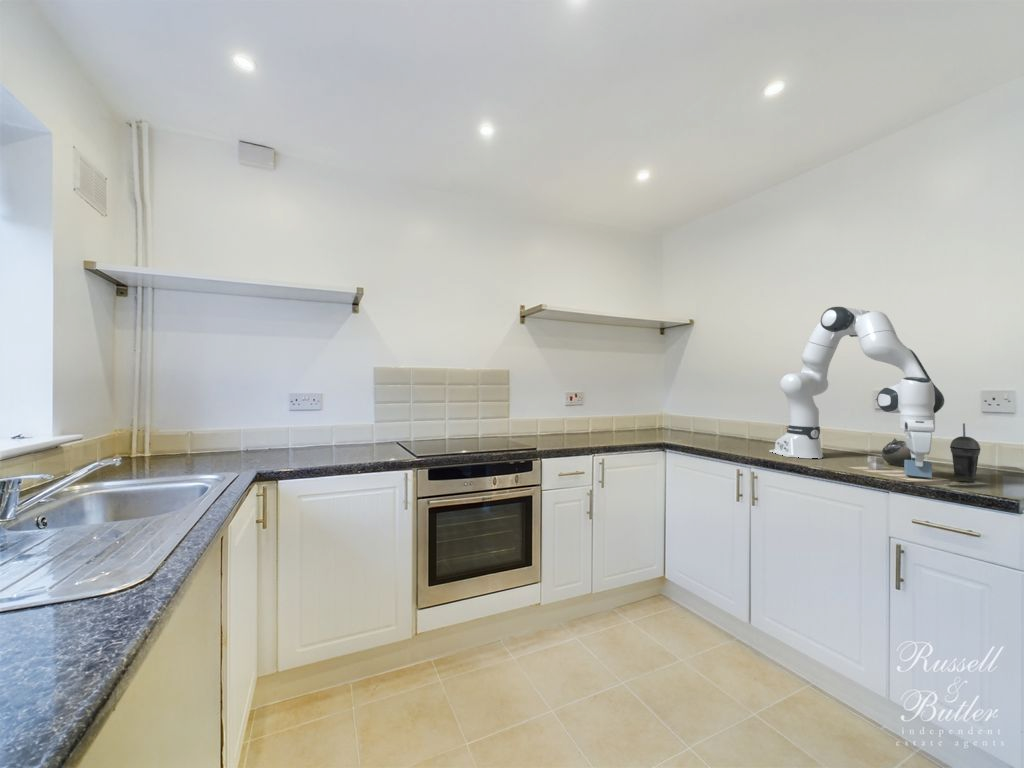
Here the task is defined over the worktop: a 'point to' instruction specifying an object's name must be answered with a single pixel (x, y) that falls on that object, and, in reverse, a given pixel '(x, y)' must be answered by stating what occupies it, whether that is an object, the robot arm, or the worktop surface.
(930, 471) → the collar
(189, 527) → the worktop surface
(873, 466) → the assembly board
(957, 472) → the beverage cup
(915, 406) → the robot arm
